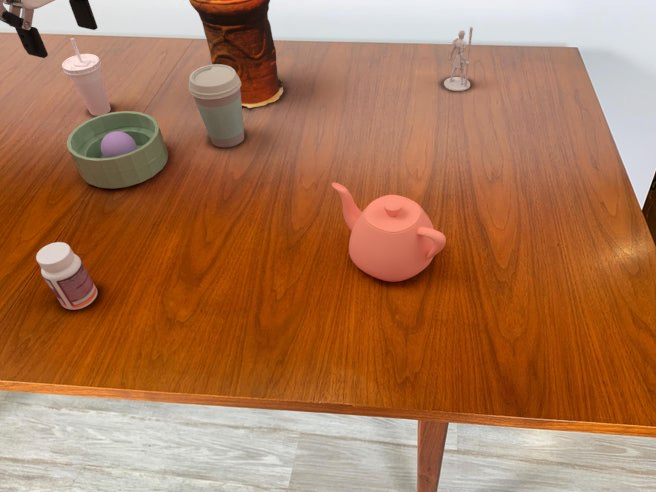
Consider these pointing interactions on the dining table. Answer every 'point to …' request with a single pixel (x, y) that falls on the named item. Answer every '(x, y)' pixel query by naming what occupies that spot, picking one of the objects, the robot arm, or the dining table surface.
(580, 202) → the dining table surface
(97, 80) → the smoothie
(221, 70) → the coffee cup
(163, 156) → the bowl
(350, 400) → the dining table surface
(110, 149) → the ball
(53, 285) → the pill bottle
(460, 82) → the figurine
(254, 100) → the vessel
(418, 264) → the teapot
